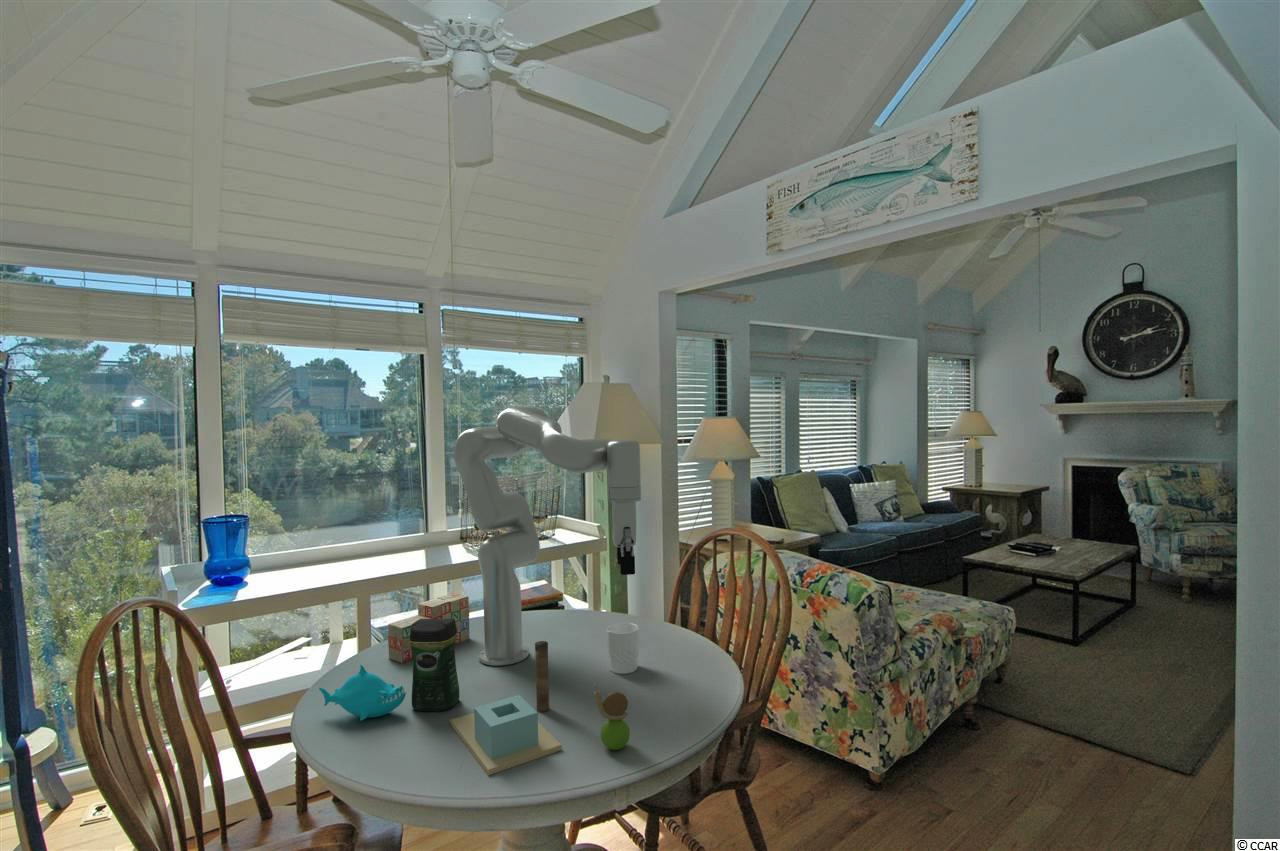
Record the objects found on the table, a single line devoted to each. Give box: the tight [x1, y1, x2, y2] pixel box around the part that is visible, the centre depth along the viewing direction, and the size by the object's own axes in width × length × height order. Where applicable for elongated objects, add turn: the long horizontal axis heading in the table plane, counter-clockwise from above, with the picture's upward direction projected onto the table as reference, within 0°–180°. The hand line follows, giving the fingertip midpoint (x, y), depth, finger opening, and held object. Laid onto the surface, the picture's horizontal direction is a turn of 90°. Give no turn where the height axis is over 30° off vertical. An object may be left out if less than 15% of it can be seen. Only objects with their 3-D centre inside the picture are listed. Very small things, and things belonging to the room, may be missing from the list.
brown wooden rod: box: [534, 640, 550, 713], centre depth 131 cm, size 3×3×14 cm
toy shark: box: [318, 664, 407, 722], centre depth 130 cm, size 10×18×11 cm, turn 90°
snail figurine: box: [593, 683, 631, 751], centre depth 115 cm, size 5×6×12 cm
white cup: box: [606, 622, 640, 675], centre depth 152 cm, size 8×8×10 cm
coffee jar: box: [409, 618, 461, 712], centre depth 135 cm, size 10×8×19 cm
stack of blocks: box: [387, 593, 471, 664], centre depth 169 cm, size 21×6×12 cm, turn 144°
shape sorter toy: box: [450, 694, 563, 776], centre depth 120 cm, size 22×14×7 cm, turn 33°
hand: (625, 569), depth 142 cm, fingers open, 9 cm apart
